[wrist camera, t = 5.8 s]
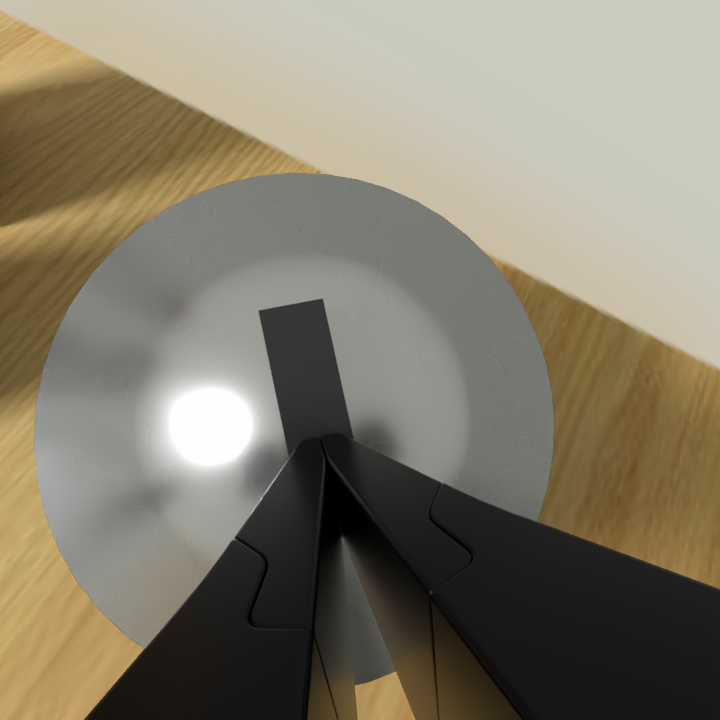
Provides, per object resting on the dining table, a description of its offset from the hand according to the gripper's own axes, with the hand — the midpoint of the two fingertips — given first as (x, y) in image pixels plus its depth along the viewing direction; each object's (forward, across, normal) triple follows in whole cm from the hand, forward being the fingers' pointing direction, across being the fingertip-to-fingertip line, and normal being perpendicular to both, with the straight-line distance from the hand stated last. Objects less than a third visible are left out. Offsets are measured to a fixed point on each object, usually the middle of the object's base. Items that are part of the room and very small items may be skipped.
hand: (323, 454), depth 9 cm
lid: (+2, 0, 0) cm, 2 cm away
